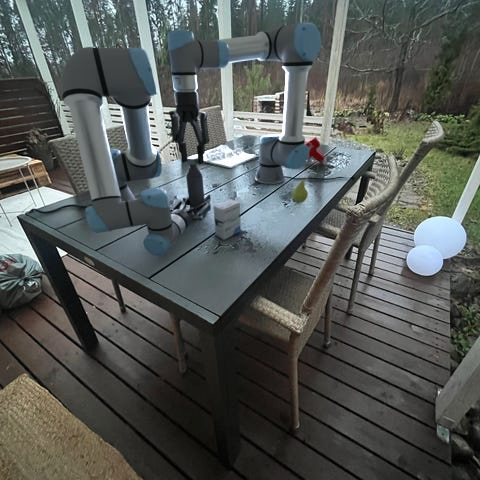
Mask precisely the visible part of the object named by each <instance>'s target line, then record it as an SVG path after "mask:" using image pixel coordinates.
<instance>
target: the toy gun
mask: <svg viewBox="0 0 480 480" xmlns="http://www.w3.org/2000/svg"><path fill="white" fill-rule="evenodd" d="M304 145H306V146H307V147H308V148H309V156H308V159H307V160H309V159H310V158H313V159H315V160H316V162H317V164H320V163H323V162H324V159H325V157H326V156H325V155H324V154H323V153H322V152H320V151H319V149H320V147H321V142H320V141H319V140H318V138H317V136H314V137H313V138H311V139H310V140H308V141H306V142H305V144H304ZM318 148H319V149H318ZM322 160H323V161H322ZM318 161H319V162H320V163H318ZM321 161H322V162H321Z"/></svg>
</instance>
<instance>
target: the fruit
mask: <svg viewBox="0 0 480 480" xmlns="http://www.w3.org/2000/svg"><path fill="white" fill-rule="evenodd" d="M309 177H311V175H310V174H309V175H308V176H306V177H305V178H306V179H301V181H300V182H298V184H297V185H296V186H295V187H294V188H293V190H292V191H291V198H292V200H293V201H294V202H295V203H297V204H301V203H304V202H305V201H306V200H307V198H308V196H309V195H308V190H307V189H306V184H305V183H306V180H308V179H307V178H309Z"/></svg>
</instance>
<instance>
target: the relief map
mask: <svg viewBox="0 0 480 480" xmlns="http://www.w3.org/2000/svg"><path fill="white" fill-rule="evenodd" d="M192 156H197V157H198V154H192ZM203 157H204V163H207V164H211V165H215V166H219V167H223V168H228V169H233V168H235V167H237V166H239V165H242V164H245V163H247V162H249V161H252V160H254V159H256V158H257V155H256V154H252V153H251V154H250V153H247V152H245V151H244V150H243V149H242V148H241V147H239V148H237V149H232V148H230V147H229V146H228V145H227V144H222V143H221V144H220V145H218V146H216V147H214V148H212V149H208V150H205V154H204V155H203Z"/></svg>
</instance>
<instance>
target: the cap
mask: <svg viewBox="0 0 480 480" xmlns="http://www.w3.org/2000/svg"><path fill="white" fill-rule="evenodd" d="M186 162H187V165H189V166H190V165H194V164H197V165H198V157H197V156H193V155H190V156H187V161H186Z"/></svg>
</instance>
